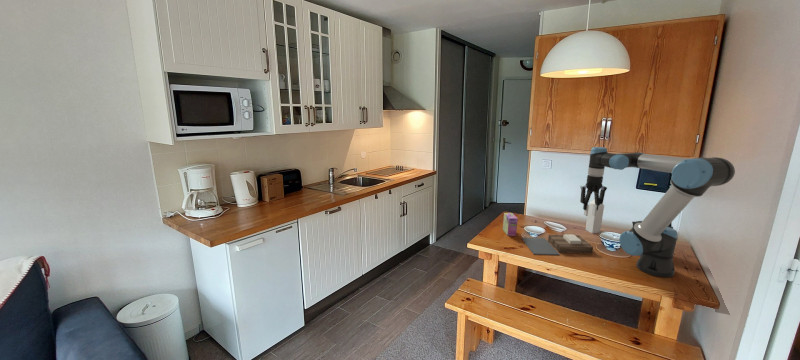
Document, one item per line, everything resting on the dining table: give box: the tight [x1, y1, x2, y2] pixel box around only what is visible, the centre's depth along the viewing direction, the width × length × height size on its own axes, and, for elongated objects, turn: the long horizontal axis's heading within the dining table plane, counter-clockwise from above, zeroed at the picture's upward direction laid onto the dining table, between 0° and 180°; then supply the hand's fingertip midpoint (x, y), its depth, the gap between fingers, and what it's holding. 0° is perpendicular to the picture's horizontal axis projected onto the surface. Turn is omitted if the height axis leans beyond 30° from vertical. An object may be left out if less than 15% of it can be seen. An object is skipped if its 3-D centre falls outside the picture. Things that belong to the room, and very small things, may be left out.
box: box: [502, 212, 519, 237], centre depth 210 cm, size 10×6×12 cm, turn 179°
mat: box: [521, 237, 561, 256], centre depth 191 cm, size 22×14×1 cm, turn 177°
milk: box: [585, 197, 605, 234], centre depth 211 cm, size 6×6×22 cm
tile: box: [562, 233, 581, 244], centre depth 189 cm, size 9×6×2 cm, turn 177°
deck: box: [547, 234, 594, 255], centre depth 190 cm, size 16×18×4 cm
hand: (589, 215), depth 185 cm, fingers open, 4 cm apart
